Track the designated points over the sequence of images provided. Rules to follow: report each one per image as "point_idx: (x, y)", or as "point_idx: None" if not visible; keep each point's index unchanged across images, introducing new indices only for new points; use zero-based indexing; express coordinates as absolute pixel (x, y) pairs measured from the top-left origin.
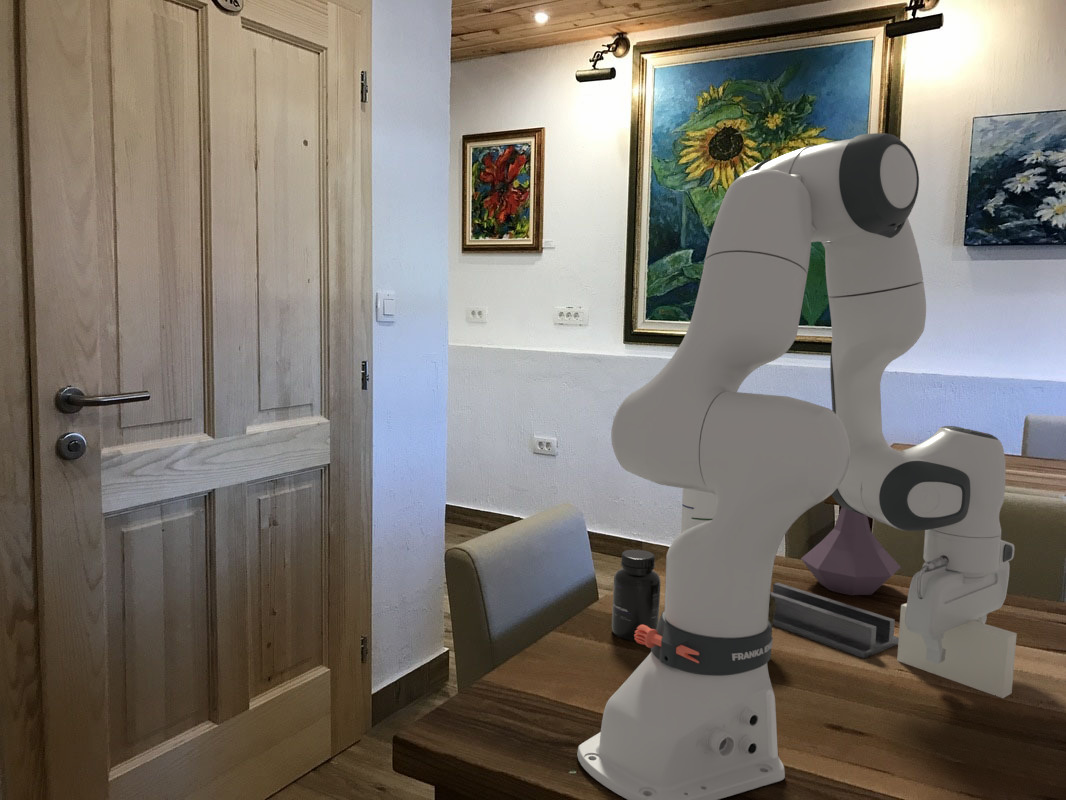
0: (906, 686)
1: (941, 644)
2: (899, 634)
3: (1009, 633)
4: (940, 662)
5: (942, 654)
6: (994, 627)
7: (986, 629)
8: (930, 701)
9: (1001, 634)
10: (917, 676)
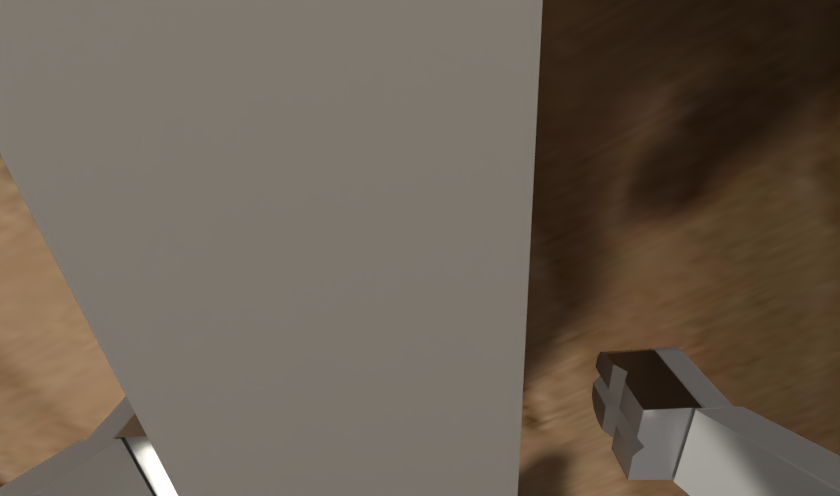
0: (676, 339)
1: (793, 456)
2: None
3: (142, 2)
4: (649, 348)
5: (673, 384)
6: (175, 404)
7: (441, 423)
8: (770, 212)
9: (459, 97)
10: (539, 366)
